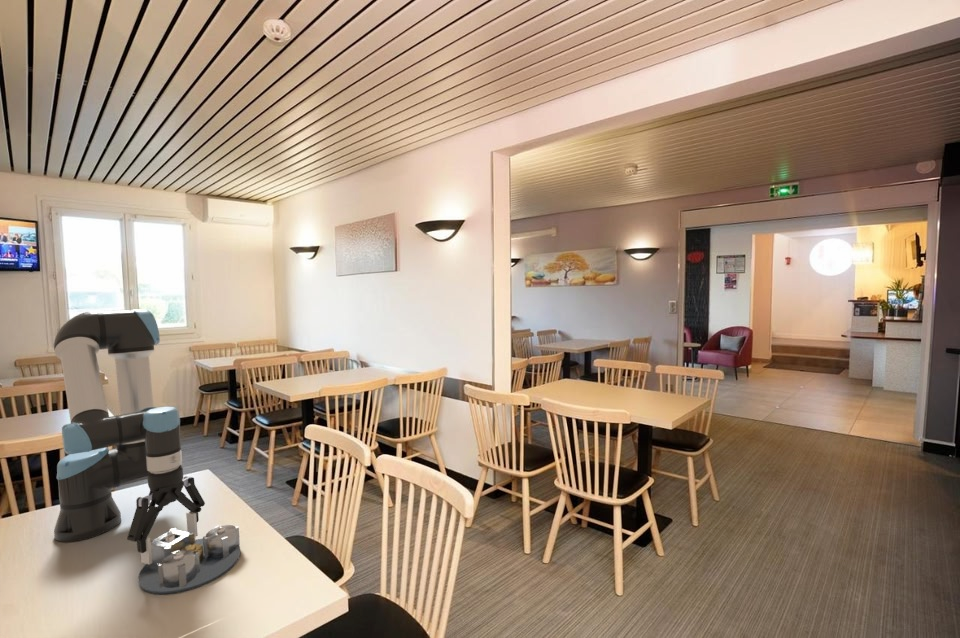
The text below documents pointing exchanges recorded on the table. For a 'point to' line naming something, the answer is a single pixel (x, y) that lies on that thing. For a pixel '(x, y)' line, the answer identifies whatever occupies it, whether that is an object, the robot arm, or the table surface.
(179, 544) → the grey square frame
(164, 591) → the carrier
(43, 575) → the table surface
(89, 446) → the robot arm
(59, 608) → the table surface
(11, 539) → the table surface
